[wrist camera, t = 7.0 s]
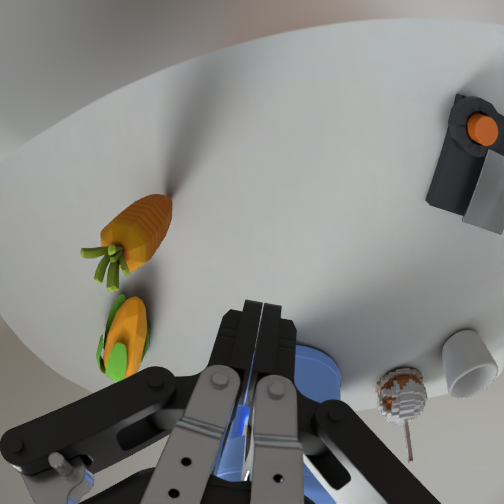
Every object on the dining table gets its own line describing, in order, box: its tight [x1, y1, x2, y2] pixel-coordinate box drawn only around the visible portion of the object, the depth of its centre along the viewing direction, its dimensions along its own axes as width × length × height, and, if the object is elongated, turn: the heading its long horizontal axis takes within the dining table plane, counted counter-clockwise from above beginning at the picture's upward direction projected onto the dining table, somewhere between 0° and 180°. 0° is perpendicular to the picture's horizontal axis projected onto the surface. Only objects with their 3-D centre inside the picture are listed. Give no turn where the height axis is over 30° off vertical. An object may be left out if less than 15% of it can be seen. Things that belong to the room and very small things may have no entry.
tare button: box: [467, 113, 498, 146], centre depth 22 cm, size 3×3×2 cm
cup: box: [442, 330, 498, 399], centre depth 36 cm, size 11×8×8 cm
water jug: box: [217, 345, 341, 504], centre depth 35 cm, size 16×16×28 cm
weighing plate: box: [462, 148, 504, 235], centre depth 25 cm, size 8×6×1 cm
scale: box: [426, 94, 504, 216], centre depth 25 cm, size 12×11×3 cm
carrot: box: [81, 194, 172, 292], centre depth 28 cm, size 5×5×15 cm
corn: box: [96, 294, 150, 382], centre depth 43 cm, size 7×8×20 cm
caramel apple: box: [375, 368, 427, 463], centre depth 38 cm, size 8×8×15 cm
